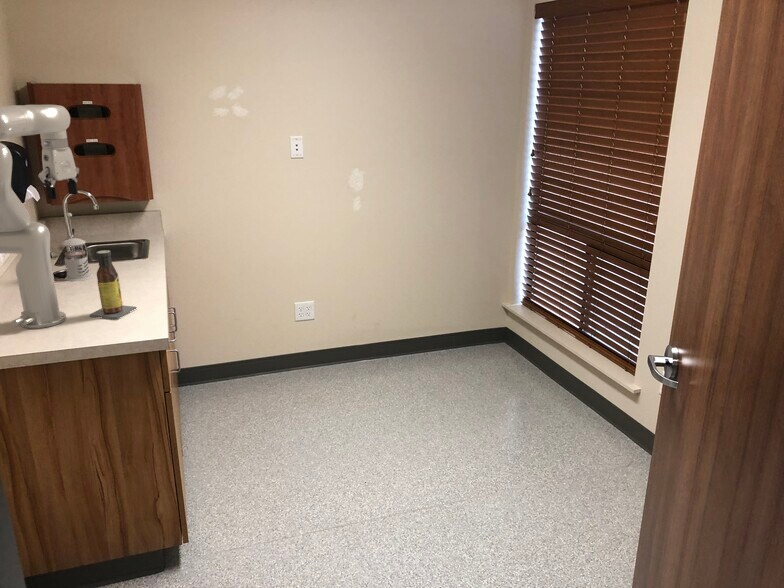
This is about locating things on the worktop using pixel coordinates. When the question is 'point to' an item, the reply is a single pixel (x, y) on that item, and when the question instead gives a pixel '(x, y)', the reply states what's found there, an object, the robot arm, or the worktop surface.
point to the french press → (76, 260)
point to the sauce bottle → (108, 284)
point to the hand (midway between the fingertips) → (63, 196)
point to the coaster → (113, 315)
